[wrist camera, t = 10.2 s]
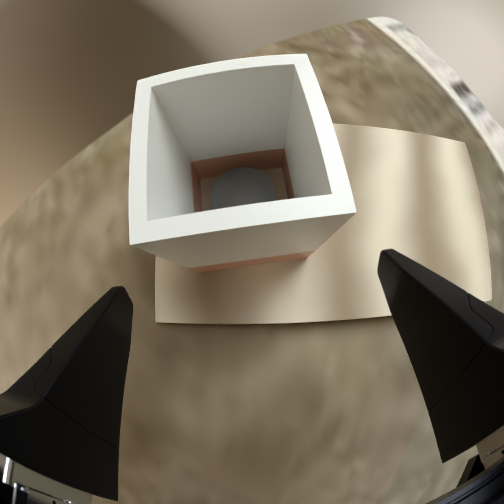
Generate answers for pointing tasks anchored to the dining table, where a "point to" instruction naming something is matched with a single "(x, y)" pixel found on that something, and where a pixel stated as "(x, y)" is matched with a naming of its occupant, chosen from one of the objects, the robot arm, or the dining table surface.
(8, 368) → the dining table surface
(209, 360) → the dining table surface
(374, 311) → the pin board
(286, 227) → the sleeve
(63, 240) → the dining table surface
